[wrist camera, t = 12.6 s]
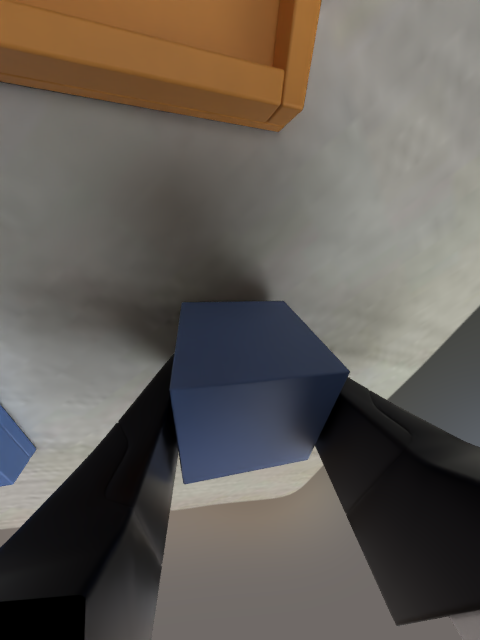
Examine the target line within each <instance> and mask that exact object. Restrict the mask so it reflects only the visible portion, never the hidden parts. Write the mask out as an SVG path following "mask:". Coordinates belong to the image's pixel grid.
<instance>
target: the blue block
mask: <svg viewBox="0 0 480 640" xmlns="http://www.w3.org/2000/svg"><path fill="white" fill-rule="evenodd" d="M349 373H350V371H349V370H348V369H347V368H346V367H345V366H344V365H343V363H342V362H341V361H340V360H339V359H338V358H337V357H336V356H335V355H334V354H333V353H332V352H331V351H330V350H329V349H328V347H327V346H326V345H325V344H324V343H323V342H322V341H321V340H320V339H319V338H318V337H317V336H316V335H315V334H314V333H313V332H312V330H311V329H310V328H309V327H308V326H307V325H306V324H305V323H304V322H303V321H302V320H301V319H300V318H299V317H298V316H297V314H296V313H295V312H294V311H293V310H292V309H291V308H290V307H289V306H288V305H287V304H286V303H285V302H284V301H245V302H182V305H181V312H180V319H179V326H178V333H177V340H176V347H175V354H174V361H173V368H172V375H171V382H170V389H169V390H170V397H171V404H172V410H173V417H174V424H175V430H176V437H177V444H178V451H179V457H180V464H181V471H182V477H183V483H184V484H189V483H194V482H199V481H204V480H209V479H214V478H219V477H224V476H229V475H234V474H239V473H244V472H249V471H254V470H259V469H264V468H269V467H274V466H279V465H284V464H289V463H294V462H299V461H304V460H308V458H309V456H310V454H311V452H312V450H313V448H314V446H315V444H316V442H317V439H318V437H319V435H320V433H321V431H322V429H323V427H324V425H325V423H326V421H327V419H328V417H329V415H330V412H331V410H332V408H333V406H334V404H335V402H336V400H337V398H338V396H339V394H340V392H341V390H342V388H343V385H344V383H345V381H346V379H347V377H348V375H349Z"/></svg>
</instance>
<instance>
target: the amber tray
mask: <svg viewBox="0 0 480 640" xmlns="http://www.w3.org/2000/svg"><path fill="white" fill-rule="evenodd" d="M320 6H321V0H0V81H1V82H6V83H12V84H17V85H23V86H28V87H34V88H39V89H45V90H50V91H56V92H61V93H67V94H72V95H78V96H83V97H89V98H94V99H100V100H105V101H111V102H117V103H122V104H128V105H133V106H139V107H144V108H150V109H155V110H161V111H166V112H172V113H177V114H183V115H188V116H194V117H199V118H205V119H210V120H216V121H221V122H227V123H232V124H238V125H243V126H249V127H254V128H260V129H265V130H271V131H276V132H279V131H280V130H281V129H282V128H283V127H284V126H285V125H286V124H287V123H289V122H290V121H291V120H292V119H293V118H294V117H295V116H296V115H297V114H299V113H300V112H301V111H302V109H303V107H304V101H305V95H306V89H307V83H308V77H309V72H310V66H311V60H312V54H313V48H314V42H315V36H316V30H317V24H318V18H319V12H320Z"/></svg>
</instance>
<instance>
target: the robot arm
mask: <svg viewBox="0 0 480 640" xmlns="http://www.w3.org/2000/svg"><path fill="white" fill-rule="evenodd" d="M174 354H175V353H174ZM174 354H173V355H172V356H171V357H170V359H169V360H168V361H167V362H166V363H165V365H164V366H163V367H162V368H161V370H160V371H159V372H158V373H157V374H156V376H155V377H154V378H153V379H152V381H151V382H150V383H149V384H148V385H147V387H146V388H145V389H144V390H143V392H142V393H141V394H140V395H139V396H138V398H137V399H136V400H135V401H134V403H133V404H132V405H131V406H130V408H129V409H128V410H127V411H126V412H125V414H124V415H123V416H122V417H121V419H120V420H119V421H118V422H119V423H116V424H115V426H114V427H113V428H112V429H111V431H110V432H109V433H108V434H107V435H106V437H105V438H104V439H103V440H102V441H101V442H100V444H99V445H98V446H97V447H96V448H95V449H94V451H93V452H92V453H91V454H90V455H89V456H88V457H87V458H86V459H85V460H84V461H83V462H82V464H81V465H80V466H79V467H78V468H77V469H76V470H75V471H74V472H73V473H72V474H71V475H70V476H69V477H68V478H67V479H66V481H65V482H64V483H63V484H62V485H61V486H60V487H59V488H58V489H57V490H56V491H55V492H54V493H53V494H52V495H51V496H50V497H49V498H48V499H47V500H46V501H45V502H44V503H43V505H42V506H41V507H40V508H39V509H38V510H37V511H36V512H35V513H34V514H33V515H32V516H31V517H30V518H29V519H28V520H27V521H26V522H25V523H24V524H23V525H22V526H21V527H20V528H19V530H18V531H17V532H16V533H15V534H14V535H13V536H12V537H11V538H10V539H9V540H8V541H7V542H6V543H5V544H4V545H2V547H0V640H151V638H152V631H153V624H154V617H155V610H156V603H157V596H158V590H159V583H160V576H161V569H162V566H161V564H162V561H163V555H164V548H165V541H166V534H167V527H168V520H169V513H170V507H171V500H172V493H173V486H174V479H175V472H176V465H177V458H178V444H177V437H176V430H175V424H174V417H173V410H172V404H171V397H170V390H169V389H170V382H171V375H172V368H173V361H174ZM315 447H316V449H317V451H318V453H319V455H320V458H321V460H322V462H323V464H324V466H325V469H326V471H327V473H328V475H329V478H330V480H331V482H332V484H333V486H334V489H335V491H336V493H337V495H338V497H339V500H340V502H341V504H342V506H343V509H344V511H345V513H347V514H346V516H347V518H348V520H349V522H350V525H351V527H352V529H353V531H354V533H355V536H356V538H357V540H358V542H359V545H360V547H361V549H362V551H363V553H364V556H365V558H366V560H367V562H368V565H369V567H370V569H371V571H372V573H373V575H374V578H375V580H376V582H377V585H378V587H379V589H380V591H381V593H382V596H383V598H384V600H385V602H386V605H387V607H388V609H389V611H390V613H391V615H392V617H393V619H394V621H395V623H396V625H397V626H400V625H405V624H411V623H416V622H421V621H426V620H431V619H437V618H442V617H447V616H449V618H450V620H451V621H452V623H453V624H454V626H455V628H456V629H457V631H458V632H459V634H460V636H461V637H462V639H463V640H480V447H478V446H475V445H472V444H470V443H467V442H465V441H463V440H461V439H459V438H457V437H455V436H453V435H451V434H449V433H447V432H445V431H443V430H442V429H440V428H438V427H436V426H434V425H432V424H430V423H428V422H426V421H424V420H423V419H421V418H419V417H417V416H415V415H413V414H411V413H409V412H407V411H406V410H404V409H402V408H400V407H398V406H396V405H394V404H393V403H391V402H389V401H387V400H386V399H384V398H382V397H380V396H379V395H377V394H375V393H374V392H372V391H369V390H368V389H367V388H365V387H364V386H362V385H360V384H358V383H357V382H355V381H353V380H352V379H350V378H348V377H347V379H346V381H345V383H344V385H343V388H342V390H341V392H340V394H339V396H338V398H337V400H336V402H335V404H334V406H333V408H332V410H331V412H330V415H329V417H328V419H327V421H326V423H325V425H324V427H323V429H322V431H321V433H320V435H319V437H318V439H317V442H316V444H315Z"/></svg>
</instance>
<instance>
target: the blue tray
mask: <svg viewBox="0 0 480 640" xmlns="http://www.w3.org/2000/svg"><path fill="white" fill-rule="evenodd" d="M35 451H36V448H35V447H34V445H33V444H32V443H31V442H30V441H29V439H28V438H27V437H26V436H25V434H24V433H23V432H22V431H21V429H20V428H19V427H18V426H17V425H16V423H15V422H14V421H13V420H12V418H11V417H10V416H9V415H8V413H7V412H6V411H5V410H4V408H3V407H2V406H1V405H0V486H6V485H12V484H14V482H15V481H16V479H17V478H18V476H19V475H20V473H21V472H22V470H23V469H24V467H25V466H26V464H27V463H28V461H29V459H30V458H31V457H32V455H33V454H34V452H35Z"/></svg>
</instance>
